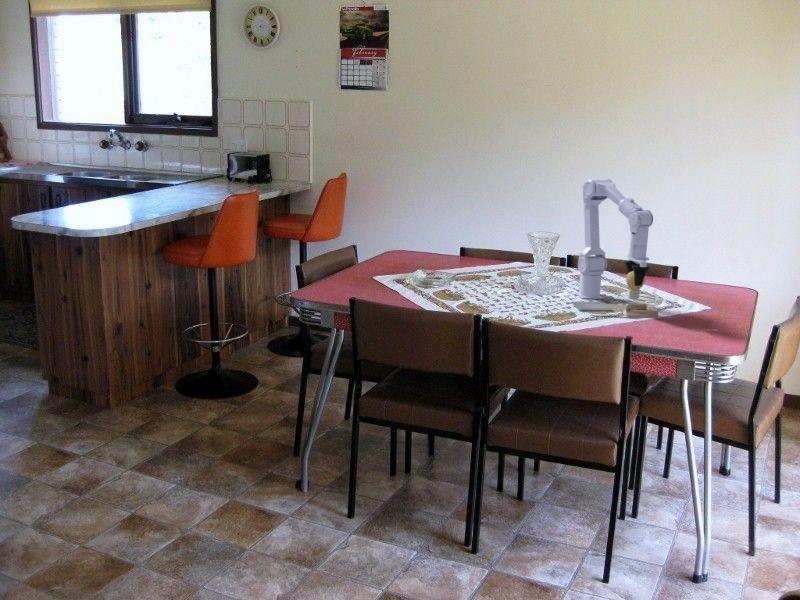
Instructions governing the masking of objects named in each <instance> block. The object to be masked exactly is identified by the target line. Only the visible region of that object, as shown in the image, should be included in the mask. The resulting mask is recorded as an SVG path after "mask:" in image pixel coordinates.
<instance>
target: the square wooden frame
mask: <svg viewBox="0 0 800 600" xmlns="http://www.w3.org/2000/svg"><path fill="white" fill-rule="evenodd" d="M626 304H627V303H617V305H626ZM630 304H631V310H625V309H617V310H618V311H619V312H620V313H622V314H623V315H624V316H625V317H628V318H629V317H630V318H631V317H632V318H634V317H635V318H637V317H638V318H640V317H641V318H644V317H645V318H659V311H658V310H657V309H656V308H655V307H653V306H652V305H651V304H649V303H630ZM637 309H646V310H637Z"/></svg>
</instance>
